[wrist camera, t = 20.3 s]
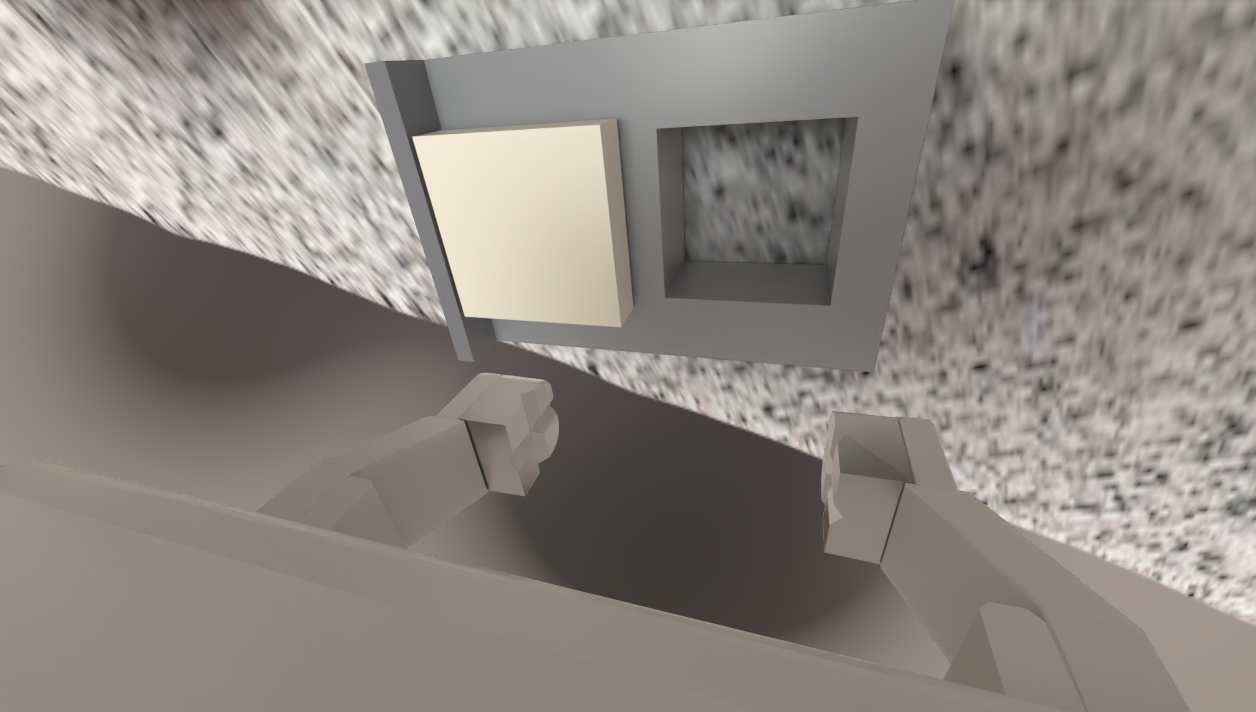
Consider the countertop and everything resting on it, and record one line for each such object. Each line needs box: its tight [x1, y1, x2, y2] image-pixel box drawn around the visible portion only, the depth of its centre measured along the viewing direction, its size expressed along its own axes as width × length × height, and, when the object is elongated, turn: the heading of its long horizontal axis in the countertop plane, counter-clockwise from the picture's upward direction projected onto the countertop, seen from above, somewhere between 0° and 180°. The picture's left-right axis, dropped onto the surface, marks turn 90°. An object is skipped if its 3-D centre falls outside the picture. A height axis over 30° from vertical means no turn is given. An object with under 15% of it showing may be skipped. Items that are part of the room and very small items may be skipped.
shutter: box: [412, 118, 633, 327], centre depth 22 cm, size 8×8×2 cm
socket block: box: [365, 0, 954, 372], centre depth 23 cm, size 21×14×7 cm, turn 95°
